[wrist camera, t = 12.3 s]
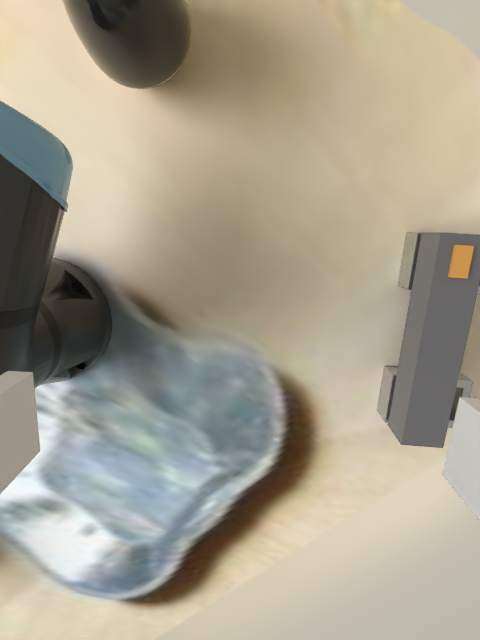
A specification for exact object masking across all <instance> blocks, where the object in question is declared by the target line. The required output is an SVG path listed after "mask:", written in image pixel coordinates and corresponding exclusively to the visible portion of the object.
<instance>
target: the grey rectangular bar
mask: <svg viewBox="0 0 480 640" xmlns="http://www.w3.org/2000/svg"><path fill="white" fill-rule="evenodd" d="M479 282H480V235H471V234H455V233H422V234H421V240H420V245H419V251H418V257H417V262H416V268H415V274H414V279H413V285H412V291H411V297H410V302H409V308H408V314H407V319H406V325H405V331H404V336H403V342H402V348H401V353H400V359H399V365H398V371H397V376H396V382H395V388H394V393H393V399H392V405H391V410H390V416H389V422H388V426H389V427H390V429H391V430H392V432H393V433H394V435H395V436H396V438H397V439H398V441H399V442H400V444H401V445H413V446H425V447H437V448H443V446H444V441H445V437H446V432H447V428H448V423H449V418H450V414H451V409H452V405H453V400H454V396H455V391H456V387H457V382H458V377H459V373H460V368H461V364H462V359H463V355H464V350H465V346H466V341H467V336H468V332H469V327H470V323H471V318H472V314H473V309H474V305H475V300H476V295H477V291H478V286H479Z"/></svg>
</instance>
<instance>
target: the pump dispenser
mask: <svg viewBox="0 0 480 640" xmlns="http://www.w3.org/2000/svg"><path fill="white" fill-rule="evenodd" d="M62 1H63V4H64V7H65V9H66V12H67V14H68V17H69V19H70V21H71V23H72V25H73V28H74V30H75V31H76V33H77V35H78V37H79V39H80V41H81V42H82V44H83V46H84V47H85V49H86V50H87V52H88V54H89V55H90V57H91V58H92V59H93V61H94V62H95V63H96V65H97V66H98V67H99V68H100V69H101V70H102V71H103V72H104V73H105V74H106V75H107V76H108V77H109V78H111V79H112V80H114V81H115V82H117V83H119V84H121V85H123V86H126V87H130V88H137V89H144V88H151V87H156V86H158V85H161V84H163V83H165V82H166V81H168V80H169V79H170V78H171V77H172V76H173V75H174V74H175V73H176V72H177V70H178V69H179V67H180V66H181V64H182V62H183V60H184V58H185V56H186V53H187V50H188V47H189V43H190V35H191V21H190V14H189V10H188V6H187V3H186V0H62Z"/></svg>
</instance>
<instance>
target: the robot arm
mask: <svg viewBox="0 0 480 640" xmlns="http://www.w3.org/2000/svg"><path fill="white" fill-rule="evenodd" d="M72 170H73V162H72V158H71V155H70V153H69V151H68V149H67V148H66V147H65V145H64V144H63V143H62V142H61V141H60V140H59V139H58V138H57V137H56V136H54V135H53V134H52V133H50V132H49V131H48V130H46V129H45V128H43V127H42V126H40V125H39V124H37V123H36V122H34V121H33V120H31V119H30V118H28V117H26V116H25V115H23V114H22V113H20V112H18V111H17V110H15V109H14V108H12V107H10V106H9V105H7V104H5V103H4V102H2V101H0V494H1V493H2V492H3V490H4V489H5V488H6V487H7V486H8V485H9V484H10V483H11V482H12V481H13V480H14V479H15V478H16V476H17V475H18V474H19V473H20V472H21V471H22V470H23V469H24V468H25V467H26V466H27V465H28V464H29V463H30V461H31V460H32V459H33V458H34V457H35V456H36V455H37V454H38V453H39V452H40V443H39V432H38V422H37V411H36V400H35V388H36V387H37V386H39V385H42V384H48V383H54V382H60V381H65V380H68V379H71V378H73V377H76V376H78V375H80V374H81V373H83V372H84V371H86V370H87V369H88V368H90V367H91V366H92V365H93V364H95V363H96V362H97V361H98V360H99V359H100V357H101V356H102V355H103V353H104V352H105V350H106V348H107V346H108V343H109V340H110V336H111V329H112V321H111V313H110V309H109V305H108V303H107V300H106V298H105V296H104V294H103V292H102V291H101V289H100V288H99V286H98V285H97V284H96V283H95V281H94V280H93V279H92V278H91V277H90V276H89V275H88V274H86V273H85V272H84V271H82V270H81V269H80V268H78V267H76V266H74V265H72V264H70V263H68V262H65V261H62V260H59V259H54V258H53V254H54V250H55V246H56V242H57V238H58V235H59V231H60V227H61V223H62V219H63V215H64V211H66V212H67V209H68V204H67V202H66V200H67V195H68V190H69V185H70V180H71V175H72ZM442 475H443V476H444V477H445V479H446V480H447V481H448V482H449V484H450V485H451V486H452V488H453V489H454V490H455V491H456V493H457V494H458V495H459V496H460V497H461V499H462V500H463V501H464V503H465V504H466V505H467V506H468V508H469V509H470V510H471V511H472V513H473V514H474V515H475V516H476V517H477V519H478V520H479V521H480V398H467V397H459V402H458V406H457V411H456V415H455V420H454V424H453V429H452V433H451V438H450V442H449V446H448V451H447V455H446V460H445V464H444V469H443V473H442Z"/></svg>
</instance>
